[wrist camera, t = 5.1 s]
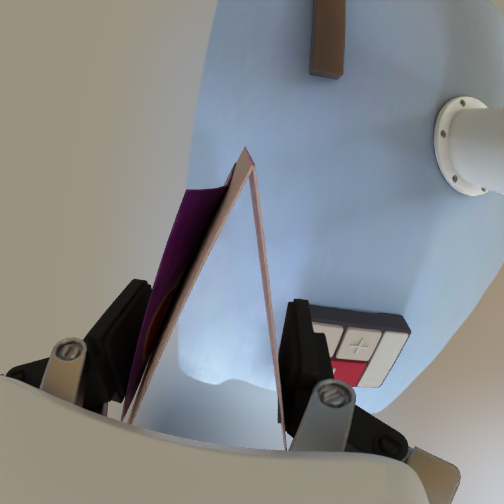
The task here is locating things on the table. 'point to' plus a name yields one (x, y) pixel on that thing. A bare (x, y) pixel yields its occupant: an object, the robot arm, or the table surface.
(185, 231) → the greeting card
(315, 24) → the walnut bar
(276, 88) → the table surface
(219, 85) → the table surface
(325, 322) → the calculator
